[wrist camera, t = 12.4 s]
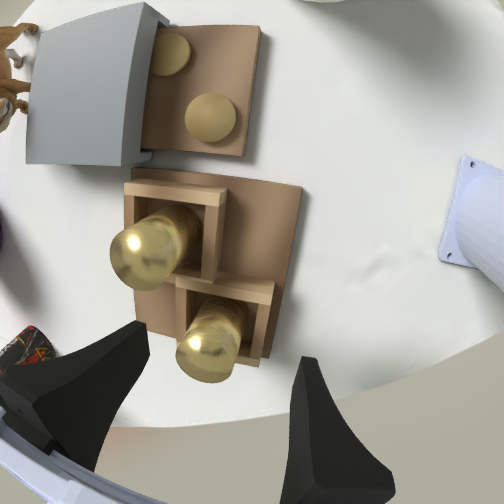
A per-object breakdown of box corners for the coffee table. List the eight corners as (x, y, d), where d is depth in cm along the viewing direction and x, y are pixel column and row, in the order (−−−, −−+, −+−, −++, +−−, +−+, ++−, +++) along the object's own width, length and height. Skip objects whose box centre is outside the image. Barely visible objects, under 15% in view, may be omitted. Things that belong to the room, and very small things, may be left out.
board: (261, 31, 15) (257, 22, 14) (244, 155, 19) (239, 156, 17) (153, 34, 16) (142, 28, 14) (137, 146, 19) (126, 148, 18)
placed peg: (203, 206, 19) (166, 234, 14) (200, 256, 21) (166, 297, 15) (156, 200, 20) (107, 225, 14) (155, 247, 21) (112, 283, 16)
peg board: (301, 186, 19) (302, 194, 16) (269, 352, 24) (266, 375, 22) (136, 166, 20) (116, 171, 17) (141, 322, 25) (127, 340, 23)
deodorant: (47, 364, 32) (-9, 429, 19) (22, 332, 31) (-40, 392, 17) (61, 355, 31) (-4, 429, 17) (33, 320, 29) (-39, 386, 15)
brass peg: (249, 332, 23) (234, 386, 17) (205, 328, 23) (181, 378, 18) (247, 292, 21) (230, 343, 16) (200, 289, 22) (170, 336, 16)
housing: (170, 20, 15) (144, 1, 12) (151, 160, 19) (120, 166, 16) (71, 41, 16) (41, 33, 12) (58, 157, 20) (25, 164, 17)
